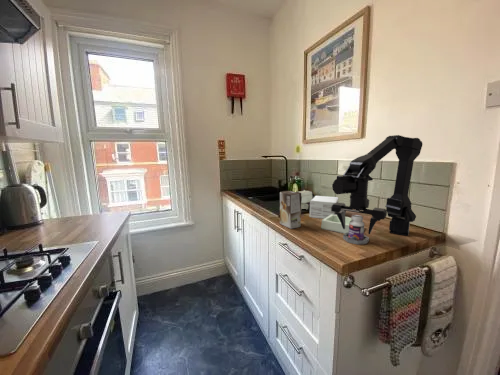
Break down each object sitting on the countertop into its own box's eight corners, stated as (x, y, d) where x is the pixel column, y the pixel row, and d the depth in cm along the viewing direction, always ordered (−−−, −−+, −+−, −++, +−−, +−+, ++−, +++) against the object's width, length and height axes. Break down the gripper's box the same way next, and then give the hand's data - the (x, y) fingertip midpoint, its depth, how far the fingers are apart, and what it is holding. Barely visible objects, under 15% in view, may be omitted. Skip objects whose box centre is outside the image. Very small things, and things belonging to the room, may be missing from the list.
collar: (370, 239, 87) (370, 235, 87) (365, 246, 81) (365, 242, 81) (347, 234, 93) (347, 230, 93) (341, 240, 86) (341, 237, 86)
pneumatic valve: (293, 209, 135) (294, 190, 134) (309, 207, 139) (310, 188, 138) (298, 211, 130) (299, 191, 128) (314, 209, 134) (315, 190, 132)
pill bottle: (345, 239, 87) (347, 216, 86) (352, 236, 91) (354, 213, 89) (359, 243, 83) (360, 219, 82) (365, 240, 86) (367, 216, 85)
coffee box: (301, 226, 103) (302, 193, 100) (290, 229, 100) (291, 194, 98) (289, 221, 111) (289, 190, 108) (278, 223, 108) (279, 191, 106)
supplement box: (335, 220, 113) (336, 202, 111) (309, 217, 118) (309, 200, 117) (338, 212, 128) (338, 196, 126) (314, 210, 133) (315, 195, 132)
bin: (357, 227, 102) (358, 218, 101) (350, 234, 92) (350, 225, 92) (330, 222, 109) (331, 214, 109) (321, 228, 100) (321, 220, 99)
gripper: (390, 192, 84) (387, 230, 87) (340, 187, 96) (338, 221, 98) (385, 196, 76) (382, 239, 78) (331, 191, 87) (329, 228, 90)
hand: (356, 231), depth 86 cm, fingers open, 9 cm apart
